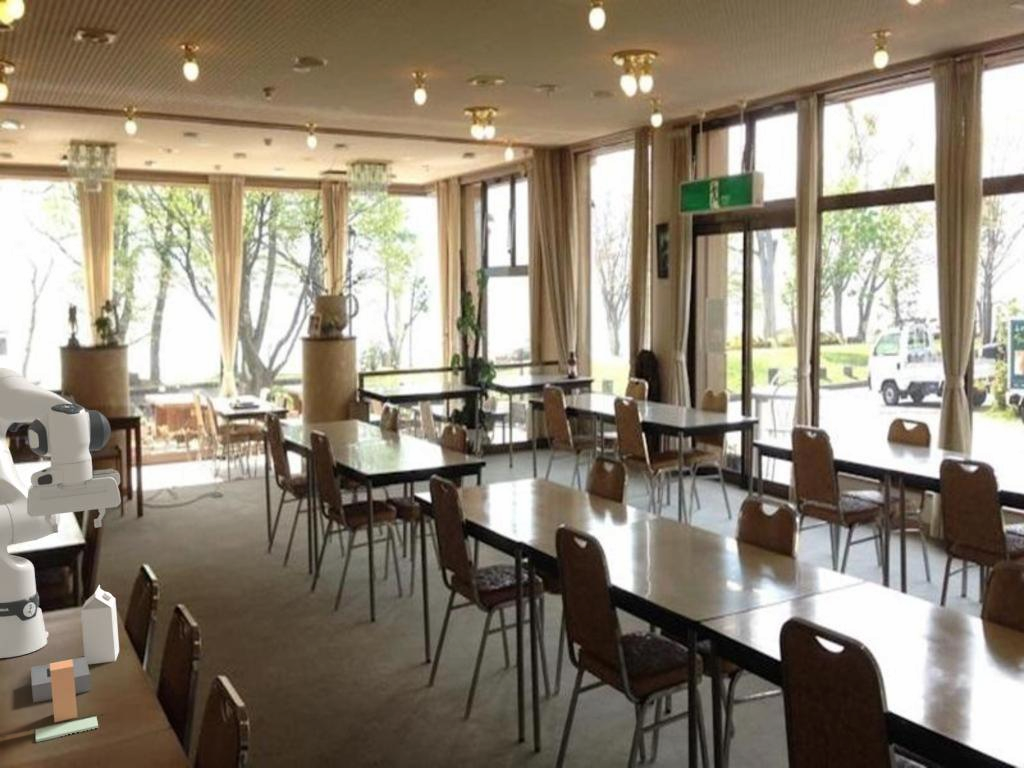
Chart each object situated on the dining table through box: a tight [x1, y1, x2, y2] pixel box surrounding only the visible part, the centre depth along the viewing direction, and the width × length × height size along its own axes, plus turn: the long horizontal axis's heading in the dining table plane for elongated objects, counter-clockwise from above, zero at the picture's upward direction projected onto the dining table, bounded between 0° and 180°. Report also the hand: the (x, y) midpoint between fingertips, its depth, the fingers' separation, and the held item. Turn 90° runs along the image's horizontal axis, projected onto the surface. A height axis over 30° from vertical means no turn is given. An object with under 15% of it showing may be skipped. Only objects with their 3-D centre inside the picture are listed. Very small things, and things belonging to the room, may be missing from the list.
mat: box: [34, 714, 99, 743], centre depth 203 cm, size 16×12×1 cm
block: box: [49, 658, 78, 724], centre depth 203 cm, size 4×4×12 cm
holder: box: [30, 656, 92, 704], centre depth 218 cm, size 12×12×5 cm
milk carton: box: [80, 584, 120, 665], centre depth 234 cm, size 7×7×19 cm
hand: (76, 529), depth 221 cm, fingers open, 8 cm apart
